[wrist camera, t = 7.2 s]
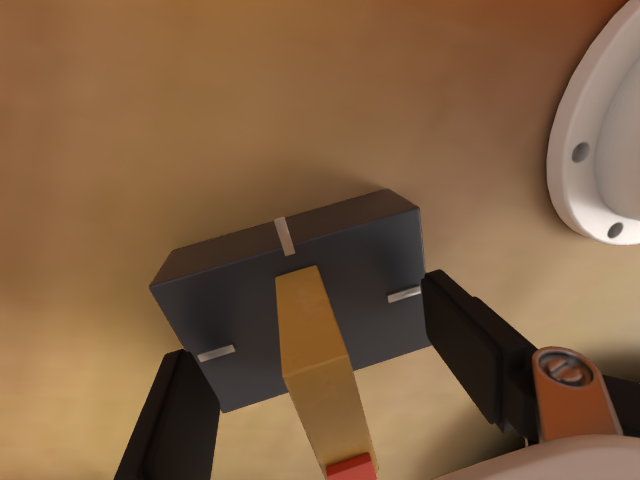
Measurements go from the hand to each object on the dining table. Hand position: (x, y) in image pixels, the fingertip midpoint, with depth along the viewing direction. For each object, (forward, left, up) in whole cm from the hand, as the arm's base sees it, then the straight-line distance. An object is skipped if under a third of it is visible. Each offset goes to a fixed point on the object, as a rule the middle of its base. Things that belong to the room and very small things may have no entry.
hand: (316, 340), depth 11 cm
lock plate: (0, 0, -4) cm, 4 cm away
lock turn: (0, 0, -1) cm, 1 cm away
